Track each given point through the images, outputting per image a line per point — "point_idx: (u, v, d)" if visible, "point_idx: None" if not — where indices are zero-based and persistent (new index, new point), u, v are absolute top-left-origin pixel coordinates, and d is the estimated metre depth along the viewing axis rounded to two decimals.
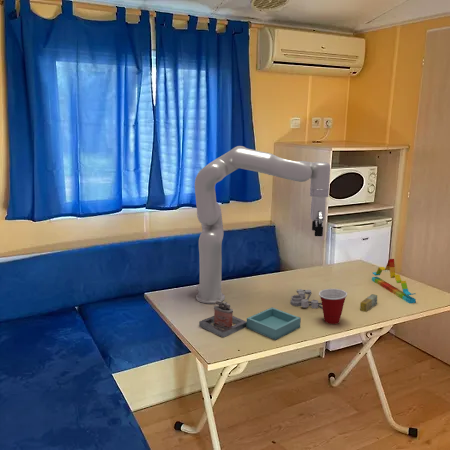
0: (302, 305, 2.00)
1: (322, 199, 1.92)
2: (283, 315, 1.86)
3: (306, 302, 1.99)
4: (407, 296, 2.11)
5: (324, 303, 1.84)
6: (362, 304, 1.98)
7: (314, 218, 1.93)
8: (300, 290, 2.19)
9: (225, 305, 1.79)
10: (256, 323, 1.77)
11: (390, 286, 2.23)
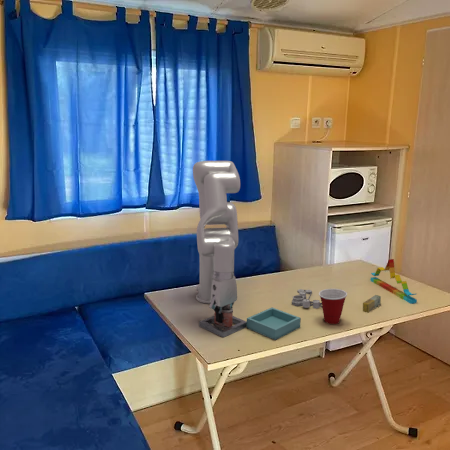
0: (303, 306, 2.00)
1: None
2: (283, 315, 1.86)
3: (308, 302, 1.99)
4: (408, 296, 2.10)
5: (324, 303, 1.84)
6: (364, 305, 1.97)
7: None
8: (301, 290, 2.19)
9: None
10: (256, 323, 1.77)
11: (390, 286, 2.22)
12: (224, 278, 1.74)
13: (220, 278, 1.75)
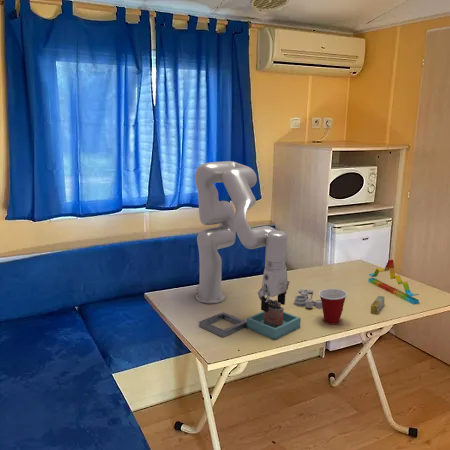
0: (306, 306, 2.00)
1: None
2: (283, 315, 1.86)
3: (311, 302, 1.99)
4: (410, 297, 2.10)
5: (324, 303, 1.84)
6: (373, 307, 1.95)
7: None
8: (302, 290, 2.19)
9: (276, 303, 1.79)
10: (256, 323, 1.77)
11: (389, 287, 2.21)
12: (277, 268, 1.73)
13: (272, 268, 1.73)
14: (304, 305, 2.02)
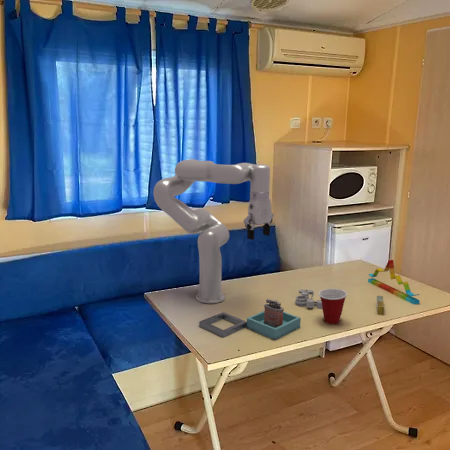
0: (308, 306, 1.99)
1: None
2: (283, 315, 1.86)
3: (312, 302, 1.99)
4: (410, 297, 2.09)
5: (324, 303, 1.84)
6: (379, 308, 1.94)
7: None
8: (302, 290, 2.19)
9: (276, 303, 1.79)
10: (256, 323, 1.77)
11: (390, 287, 2.21)
12: (261, 197, 1.88)
13: (257, 197, 1.88)
14: (305, 305, 2.02)
